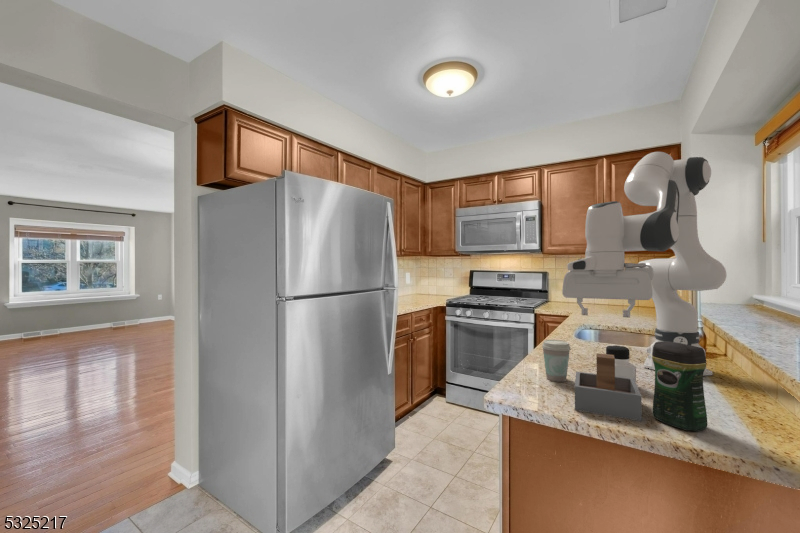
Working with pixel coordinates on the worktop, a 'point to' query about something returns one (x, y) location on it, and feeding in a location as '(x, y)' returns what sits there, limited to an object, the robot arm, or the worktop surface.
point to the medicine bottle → (622, 361)
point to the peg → (605, 371)
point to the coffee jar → (679, 385)
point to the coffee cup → (556, 359)
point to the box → (608, 397)
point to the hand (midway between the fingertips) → (605, 316)
